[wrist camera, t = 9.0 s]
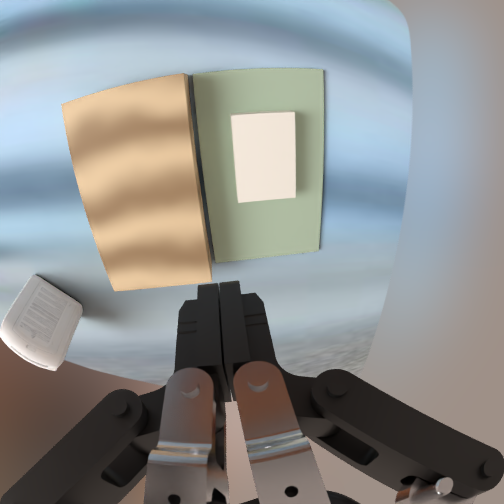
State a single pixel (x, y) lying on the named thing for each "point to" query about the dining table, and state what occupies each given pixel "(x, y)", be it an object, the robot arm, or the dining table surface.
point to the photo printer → (41, 323)
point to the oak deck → (141, 182)
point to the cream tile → (264, 155)
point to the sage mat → (223, 172)
